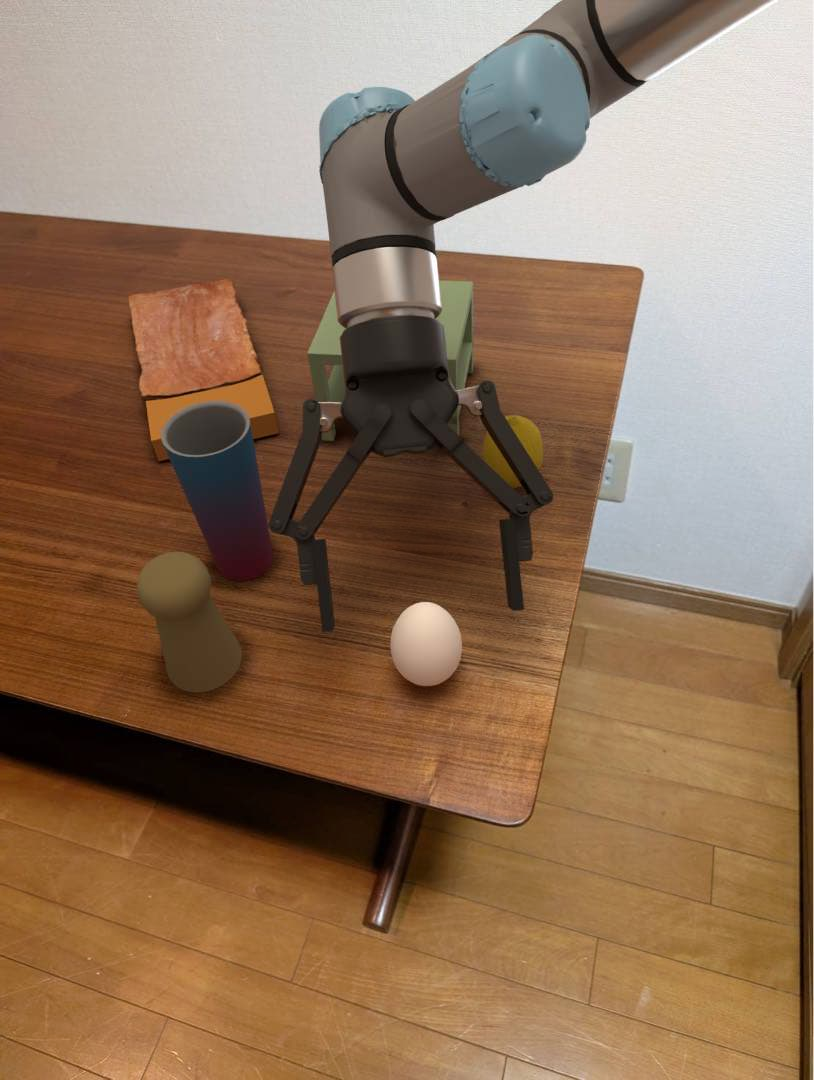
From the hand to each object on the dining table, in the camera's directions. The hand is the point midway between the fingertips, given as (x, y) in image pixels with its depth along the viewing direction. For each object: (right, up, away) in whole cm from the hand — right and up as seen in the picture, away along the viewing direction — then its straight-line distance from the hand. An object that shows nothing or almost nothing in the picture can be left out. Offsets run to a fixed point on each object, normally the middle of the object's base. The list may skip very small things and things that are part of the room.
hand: (422, 619), depth 60 cm
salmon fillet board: (-25, +25, +35) cm, 50 cm away
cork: (-17, -4, +7) cm, 19 cm away
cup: (-16, +4, +14) cm, 21 cm away
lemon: (+9, +11, +19) cm, 23 cm away
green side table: (-2, +20, +29) cm, 35 cm away
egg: (+1, -5, +5) cm, 7 cm away
